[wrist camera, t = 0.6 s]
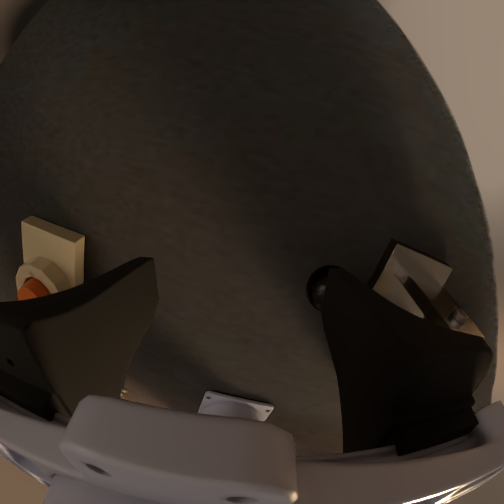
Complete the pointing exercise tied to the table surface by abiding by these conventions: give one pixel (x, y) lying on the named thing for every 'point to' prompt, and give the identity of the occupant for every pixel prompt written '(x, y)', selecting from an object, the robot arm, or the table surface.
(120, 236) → the table surface
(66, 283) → the button box
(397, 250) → the bracket
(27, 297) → the button
